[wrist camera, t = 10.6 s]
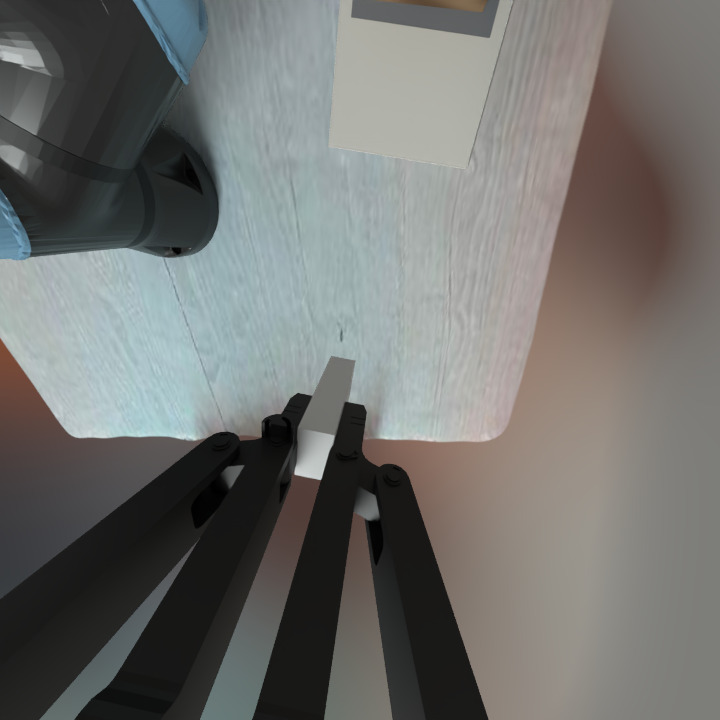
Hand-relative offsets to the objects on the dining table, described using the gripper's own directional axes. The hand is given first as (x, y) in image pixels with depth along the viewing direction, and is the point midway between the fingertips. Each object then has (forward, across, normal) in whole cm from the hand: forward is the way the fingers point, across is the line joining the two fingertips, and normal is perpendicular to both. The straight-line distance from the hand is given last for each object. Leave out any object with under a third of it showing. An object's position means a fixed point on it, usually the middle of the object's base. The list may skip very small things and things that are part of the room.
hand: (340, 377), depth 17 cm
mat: (+24, 0, +28) cm, 37 cm away
